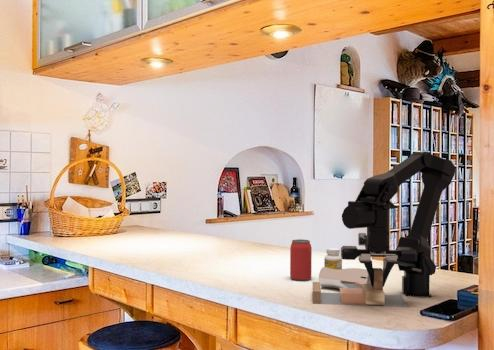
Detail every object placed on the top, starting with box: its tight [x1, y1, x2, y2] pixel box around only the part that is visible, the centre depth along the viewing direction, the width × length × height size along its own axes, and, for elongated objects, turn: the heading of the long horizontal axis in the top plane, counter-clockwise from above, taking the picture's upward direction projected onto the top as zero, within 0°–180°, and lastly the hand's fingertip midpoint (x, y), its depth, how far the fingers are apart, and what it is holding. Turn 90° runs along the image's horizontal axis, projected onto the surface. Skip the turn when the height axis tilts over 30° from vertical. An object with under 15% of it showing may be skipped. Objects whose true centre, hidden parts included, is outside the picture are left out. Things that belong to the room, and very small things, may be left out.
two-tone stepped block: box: [362, 267, 386, 305], centre depth 137 cm, size 5×9×8 cm, turn 174°
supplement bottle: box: [323, 247, 343, 269], centre depth 164 cm, size 5×5×10 cm
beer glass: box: [318, 266, 371, 290], centre depth 149 cm, size 7×7×15 cm
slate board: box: [312, 281, 410, 308], centre depth 139 cm, size 24×12×3 cm, turn 83°
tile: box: [339, 288, 365, 304], centre depth 138 cm, size 6×6×2 cm
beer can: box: [289, 238, 312, 282], centre depth 165 cm, size 7×7×12 cm
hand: (377, 286), depth 137 cm, fingers closed on two-tone stepped block, 2 cm apart
